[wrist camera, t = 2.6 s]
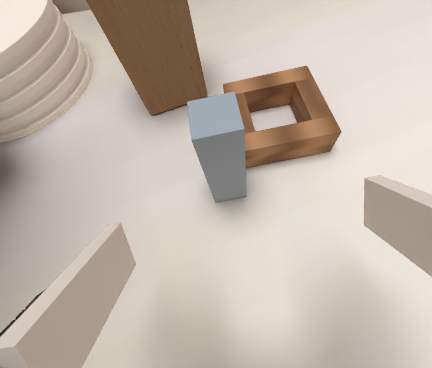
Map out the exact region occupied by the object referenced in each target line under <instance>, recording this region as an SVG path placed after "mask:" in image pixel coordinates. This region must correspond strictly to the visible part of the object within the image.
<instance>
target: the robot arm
mask: <svg viewBox="0 0 432 368" xmlns="http://www.w3.org/2000/svg"><path fill="white" fill-rule="evenodd" d="M364 225H365V226H366V227H367V228H369V229H370V230H371V231H372V232H374V233H375V234H376V235H378V236H379V237H380V238H382V239H383V240H384V241H386V242H387V243H388V244H390V245H391V246H392V247H393V248H395V249H396V250H397V251H399V252H400V253H401V254H403V255H404V256H405V257H407V258H408V259H409V260H411V261H412V262H413V263H414V264H416V265H417V266H418V267H420V268H421V269H422V270H424V271H425V272H426V273H428V274H429V275H430V276H432V195H430V194H427V193H425V192H422V191H420V190H417V189H414V188H412V187H409V186H407V185H404V184H401V183H399V182H396V181H394V180H391V179H388V178H386V177H383V176H381V175H379V176H373V177H368V178H365V185H364ZM135 265H136V263H135V260H134V257H133V255H132V252H131V249H130V247H129V244H128V241H127V239H126V236H125V233H124V231H123V228H122V225H121V223H118V224H112V225H107V226H106V227H105V228H104V229H103V230H102V231H101V233H100V234H99V235H98V236H97V237H96V238H95V239H94V240H93V241H92V242H91V243H90V244H89V245H88V246H87V247H86V248H85V249H84V250H83V251H82V252H81V253H80V254H79V255H78V257H77V258H76V259H75V260H74V261H73V262H72V263H71V264H70V265H69V266H68V267H67V268H66V269H65V270H64V271H63V272H62V273H61V274H60V275H59V276H58V277H57V278H56V279H55V281H54V282H53V283H52V284H51V285H50V286H49V287H48V288H47V289H45V290H44V291H43V292H41V293H40V294H39V295H37V296H36V297H35V298H34V299H33V300H32V301H31V302H30V303H29V305H28V306H27V307H26V309H25V310H23V311H22V312H21V313H20V314H19V315H18V316H17V317H16V320H13V321H12V322H11V323H10V324H9V325H8V326H7V327H6V328H5V329H4V330H3V331H2V332H1V333H0V368H82V366H83V364H84V362H85V360H86V358H87V356H88V355H89V353H90V351H91V349H92V347H93V345H94V343H95V341H96V339H97V337H98V336H99V334H100V332H101V330H102V328H103V326H104V324H105V322H106V320H107V318H108V316H109V315H110V313H111V311H112V309H113V307H114V305H115V303H116V301H117V299H118V297H119V296H120V294H121V292H122V290H123V288H124V286H125V284H126V282H127V280H128V278H129V276H130V275H131V273H132V271H133V269H134V267H135Z"/></svg>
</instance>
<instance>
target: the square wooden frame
mask: <svg viewBox="0 0 432 368" xmlns="http://www.w3.org/2000/svg"><path fill="white" fill-rule="evenodd" d="M223 88H224V94H225V93H230V92H234V91H235V95H236V99H237V103H238V106H239V110H240V114H241V118H242V121H243V125H244V129H245V166H246V168H248V167H253V166H258V165H263V164H268V163H273V162H278V161H284V160H289V159H294V158H299V157H304V156H309V155H314V154H319V153H324V152H329V151H331V149H332V147H333V145H334V144H335V142H336V140H337V139H338V137H339V135H340V133H341V130H340V128H339V126H338V124H337V122H336V120H335V118H334V117H333V115H332V113H331V111H330V109H329V107H328V105H327V103H326V101H325V99H324V97H323V95H322V94H321V92H320V90H319V88H318V86H317V84H316V82H315V80H314V78H313V76H312V74H311V73H310V71H309V69H308V67H307V66H303V67H299V68H294V69H290V70H285V71H281V72H276V73H271V74H267V75H262V76H258V77H253V78H249V79H244V80H240V81H235V82H231V83H226V84H223ZM287 104H290V106H291V108H292V111H293V113H294V115H295V118H296V120H297V123H295V124H290V125H286V126H281V127H276V128H271V129H266V130H261V131H256V132H255V130H254V126H253V123H252V119H251V116H250V112H254V111H258V110H263V109H268V108H273V107H277V106H282V105H287Z"/></svg>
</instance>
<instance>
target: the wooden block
mask: <svg viewBox="0 0 432 368" xmlns="http://www.w3.org/2000/svg"><path fill="white" fill-rule="evenodd" d="M86 1H87V3H88V5H89V6H90V8H91V10H92V12H93V14H94V15H95V17H96V19H97V21H98V23H99V24H100V26H101V28H102V30H103V31H104V33H105V35H106V37H107V39H108V40H109V42H110V44H111V46H112V47H113V49H114V51H115V53H116V55H117V56H118V58H119V60H120V62H121V63H122V65H123V67H124V69H125V70H126V72H127V74H128V76H129V78H130V79H131V81H132V83H133V85H134V86H135V88H136V90H137V92H138V94H139V95H140V97H141V99H142V101H143V102H144V104H145V106H146V108H147V110H148V111H149V113H150V114H151V115H155V114H158V113H161V112H164V111H167V110H170V109H173V108H176V107H179V106H182V105H185V104H187V102H188V101H193V100H197V99H202V98H206V97H207V91H206V86H205V81H204V76H203V72H202V67H201V62H200V58H199V53H198V48H197V44H196V39H195V34H194V30H193V25H192V20H191V16H190V11H189V6H188V2H187V0H86Z"/></svg>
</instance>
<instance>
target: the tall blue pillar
mask: <svg viewBox="0 0 432 368" xmlns="http://www.w3.org/2000/svg"><path fill="white" fill-rule="evenodd" d="M187 106H188V115H189V123H190V132H191V140H192V143H193V145H194V148H195V150H196V153H197V156H198V158H199V161H200V164H201V166H202V169H203V171H204V174H205V177H206V179H207V182H208V184H209V187H210V190H211V192H212V195H213V198H214V200H215V202H221V201H226V200H231V199H236V198H242V197H246V166H245V129H244V125H243V121H242V118H241V114H240V110H239V106H238V103H237V99H236V95H235V91H234V92H230V93H225V94H220V95H216V96H211V97H207V98H202V99H197V100H193V101H188V102H187Z"/></svg>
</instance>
